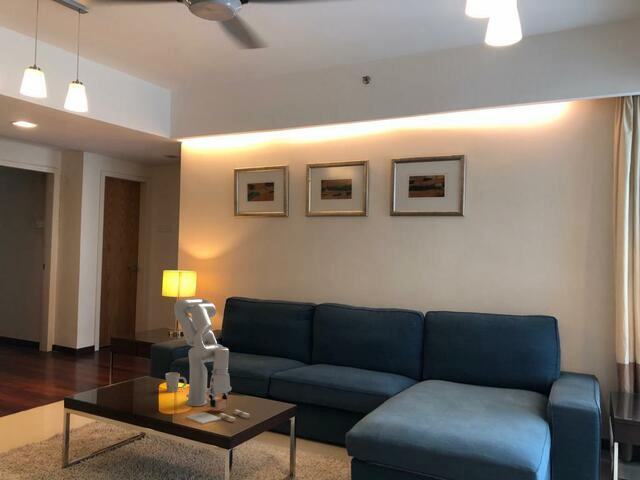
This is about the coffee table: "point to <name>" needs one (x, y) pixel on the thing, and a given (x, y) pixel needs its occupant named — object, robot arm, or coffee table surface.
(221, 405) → the block
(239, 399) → the coffee table surface
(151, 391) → the coffee table surface
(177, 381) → the mug
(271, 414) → the coffee table surface
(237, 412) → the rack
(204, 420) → the mat
